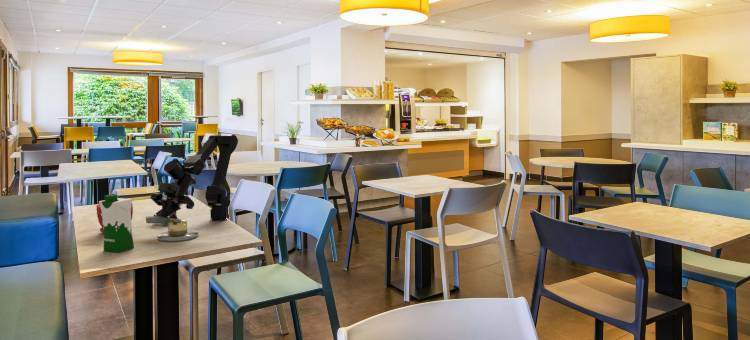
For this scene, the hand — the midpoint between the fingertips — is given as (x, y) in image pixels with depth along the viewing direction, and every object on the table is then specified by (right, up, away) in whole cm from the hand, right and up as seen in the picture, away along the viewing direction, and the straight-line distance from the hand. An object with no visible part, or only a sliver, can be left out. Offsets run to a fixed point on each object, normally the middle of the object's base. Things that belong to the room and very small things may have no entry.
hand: (161, 218), depth 209 cm
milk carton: (-8, -10, -19) cm, 22 cm away
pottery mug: (-7, -4, +24) cm, 25 cm away
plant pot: (-21, -7, +7) cm, 23 cm away
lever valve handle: (+2, -6, -1) cm, 6 cm away
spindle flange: (+7, -7, -1) cm, 10 cm away
